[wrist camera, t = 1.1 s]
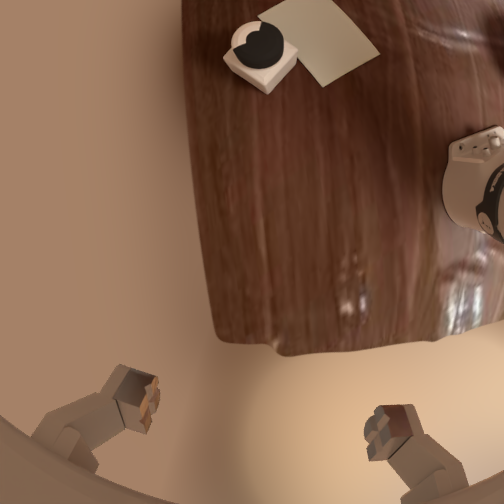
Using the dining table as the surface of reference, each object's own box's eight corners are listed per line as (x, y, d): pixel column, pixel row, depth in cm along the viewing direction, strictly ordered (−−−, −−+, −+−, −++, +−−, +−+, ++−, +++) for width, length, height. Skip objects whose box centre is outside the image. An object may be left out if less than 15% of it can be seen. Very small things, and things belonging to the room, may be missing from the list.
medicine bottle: (296, 63, 35) (301, 36, 24) (267, 95, 38) (262, 77, 27) (259, 38, 34) (251, 6, 23) (230, 70, 37) (212, 46, 26)
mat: (315, -14, 29) (315, -15, 29) (379, 54, 33) (380, 54, 32) (257, 16, 33) (257, 16, 32) (322, 87, 36) (322, 87, 36)
